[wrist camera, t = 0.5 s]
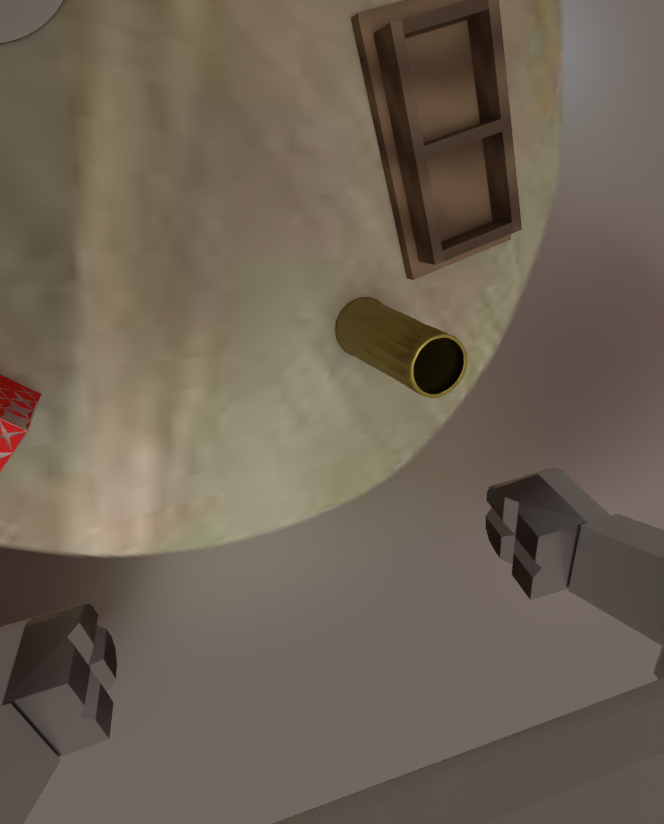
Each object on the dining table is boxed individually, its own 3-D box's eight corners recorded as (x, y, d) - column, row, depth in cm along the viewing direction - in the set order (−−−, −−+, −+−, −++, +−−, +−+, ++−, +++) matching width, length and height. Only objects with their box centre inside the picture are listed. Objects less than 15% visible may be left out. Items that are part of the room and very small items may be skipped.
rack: (351, 18, 41) (373, 1, 38) (473, -17, 44) (505, -36, 40) (407, 278, 52) (429, 284, 48) (503, 238, 54) (531, 241, 51)
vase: (351, 287, 50) (427, 316, 38) (399, 310, 53) (485, 344, 40) (325, 344, 51) (392, 390, 39) (374, 363, 54) (450, 412, 42)
